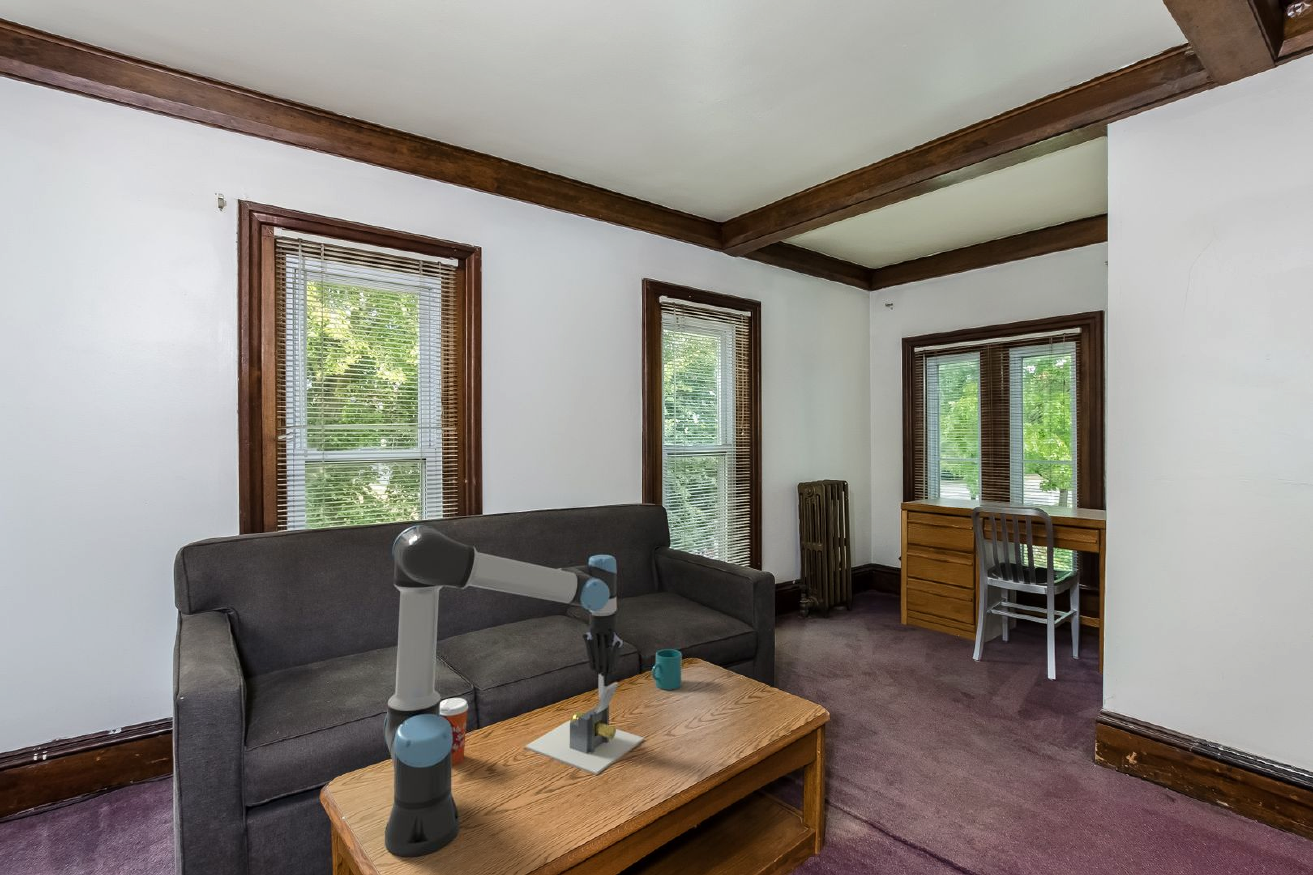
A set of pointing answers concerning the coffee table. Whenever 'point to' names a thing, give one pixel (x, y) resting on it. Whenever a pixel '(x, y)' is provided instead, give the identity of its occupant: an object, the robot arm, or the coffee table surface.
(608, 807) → the coffee table surface
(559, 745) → the mat
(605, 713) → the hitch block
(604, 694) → the grey flat brushed plate
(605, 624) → the robot arm
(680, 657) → the cup
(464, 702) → the coffee cup
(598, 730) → the pin
